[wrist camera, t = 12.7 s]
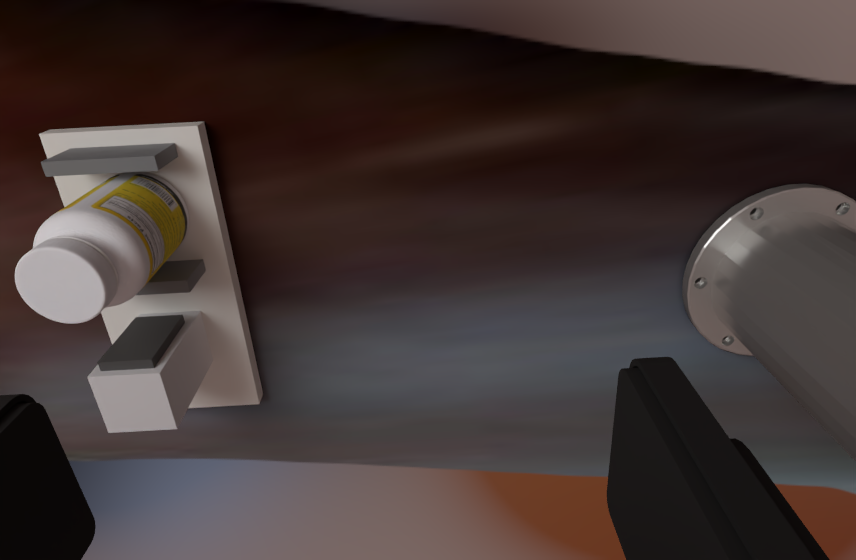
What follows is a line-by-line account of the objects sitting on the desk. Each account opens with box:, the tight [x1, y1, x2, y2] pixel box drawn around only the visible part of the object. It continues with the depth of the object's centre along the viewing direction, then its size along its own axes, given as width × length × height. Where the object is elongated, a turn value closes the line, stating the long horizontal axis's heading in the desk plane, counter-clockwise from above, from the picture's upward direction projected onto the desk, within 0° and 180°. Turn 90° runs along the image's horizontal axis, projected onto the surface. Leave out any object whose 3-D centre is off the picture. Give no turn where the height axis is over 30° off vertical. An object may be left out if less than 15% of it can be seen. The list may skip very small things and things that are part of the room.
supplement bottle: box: [15, 172, 189, 324], centre depth 30 cm, size 5×5×10 cm
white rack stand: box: [39, 122, 263, 433], centre depth 34 cm, size 9×20×8 cm, turn 2°
